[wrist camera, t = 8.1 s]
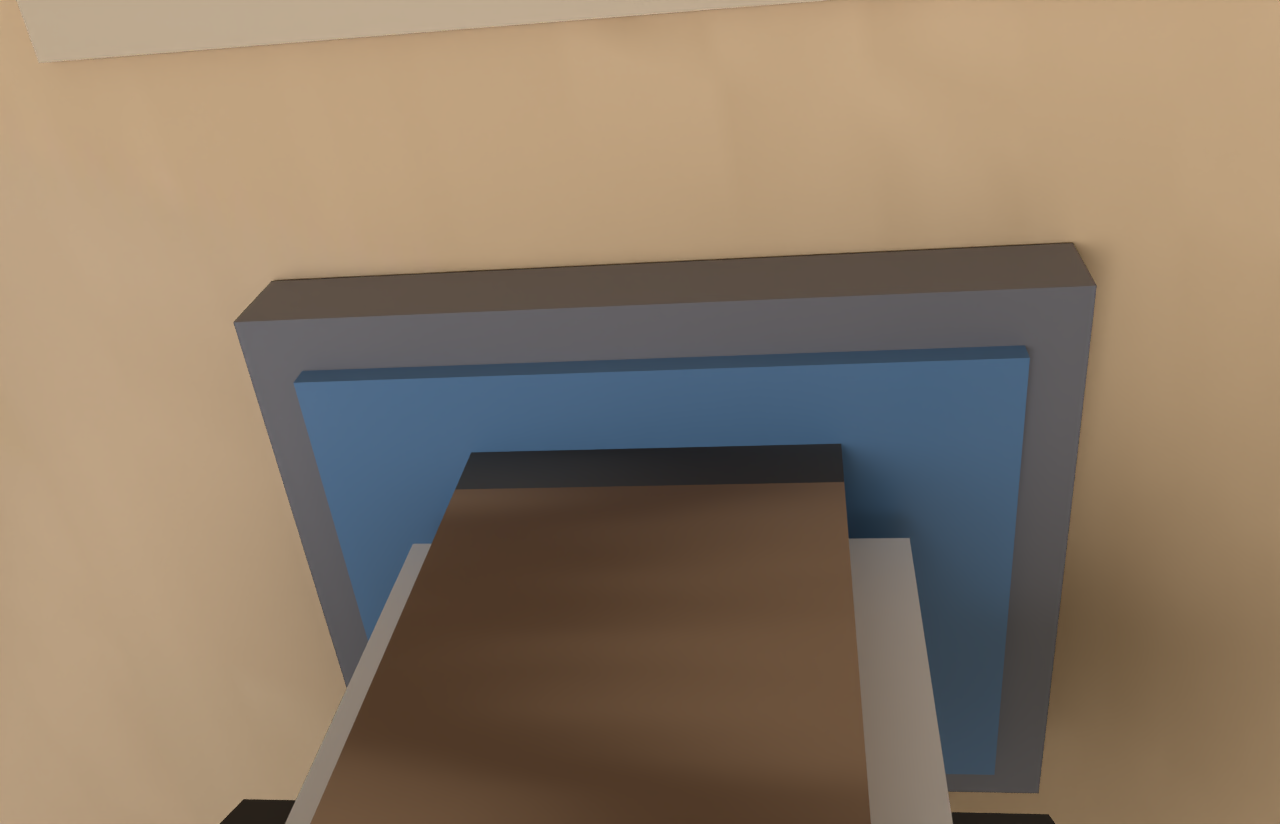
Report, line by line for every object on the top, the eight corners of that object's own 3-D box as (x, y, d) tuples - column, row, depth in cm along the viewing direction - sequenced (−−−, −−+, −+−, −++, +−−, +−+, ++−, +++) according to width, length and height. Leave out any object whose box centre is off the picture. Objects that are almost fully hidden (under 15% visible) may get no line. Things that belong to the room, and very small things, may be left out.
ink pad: (397, 723, 19) (369, 794, 18) (271, 281, 15) (223, 333, 14) (1023, 730, 17) (1042, 810, 16) (1072, 242, 13) (1103, 297, 12)
